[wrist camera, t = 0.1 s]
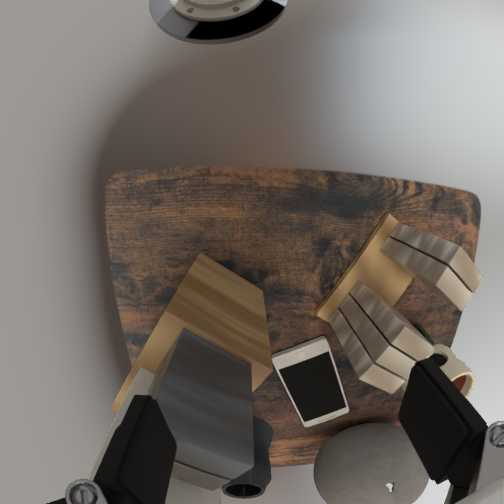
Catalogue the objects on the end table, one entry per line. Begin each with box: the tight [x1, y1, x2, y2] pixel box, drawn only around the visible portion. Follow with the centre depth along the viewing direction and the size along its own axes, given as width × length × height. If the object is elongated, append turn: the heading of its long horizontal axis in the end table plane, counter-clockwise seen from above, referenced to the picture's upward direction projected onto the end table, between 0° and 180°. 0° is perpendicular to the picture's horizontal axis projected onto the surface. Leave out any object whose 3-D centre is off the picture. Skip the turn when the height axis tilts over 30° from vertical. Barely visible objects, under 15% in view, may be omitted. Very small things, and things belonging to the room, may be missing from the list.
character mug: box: [401, 323, 475, 398], centre depth 27 cm, size 11×7×13 cm, turn 83°
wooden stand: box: [111, 252, 273, 491], centre depth 21 cm, size 12×8×22 cm, turn 146°
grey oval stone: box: [314, 423, 429, 504], centre depth 29 cm, size 18×7×19 cm, turn 92°
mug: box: [221, 418, 273, 499], centre depth 31 cm, size 12×9×11 cm
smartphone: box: [272, 336, 349, 427], centre depth 34 cm, size 7×15×1 cm, turn 22°
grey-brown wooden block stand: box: [315, 213, 483, 394], centre depth 25 cm, size 14×8×12 cm, turn 146°
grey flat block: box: [87, 367, 221, 504], centre depth 13 cm, size 2×7×11 cm, turn 56°
